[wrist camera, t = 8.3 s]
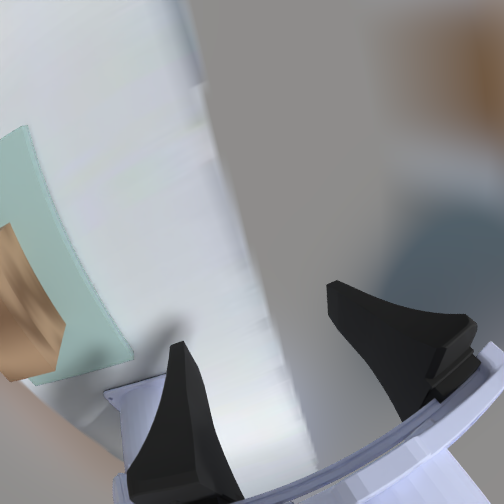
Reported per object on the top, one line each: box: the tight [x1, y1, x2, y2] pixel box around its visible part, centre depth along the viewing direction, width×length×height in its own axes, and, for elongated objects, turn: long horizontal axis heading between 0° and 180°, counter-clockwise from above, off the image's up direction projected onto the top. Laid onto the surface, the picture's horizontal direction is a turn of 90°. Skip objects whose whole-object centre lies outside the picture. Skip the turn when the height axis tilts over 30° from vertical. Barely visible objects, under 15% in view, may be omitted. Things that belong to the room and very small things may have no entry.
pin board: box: [0, 125, 134, 386], centre depth 15 cm, size 20×12×4 cm, turn 13°
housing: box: [0, 223, 66, 382], centre depth 14 cm, size 9×5×5 cm, turn 13°
